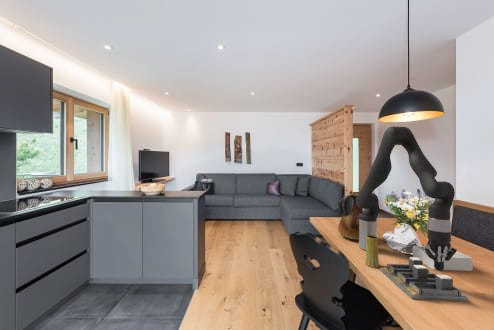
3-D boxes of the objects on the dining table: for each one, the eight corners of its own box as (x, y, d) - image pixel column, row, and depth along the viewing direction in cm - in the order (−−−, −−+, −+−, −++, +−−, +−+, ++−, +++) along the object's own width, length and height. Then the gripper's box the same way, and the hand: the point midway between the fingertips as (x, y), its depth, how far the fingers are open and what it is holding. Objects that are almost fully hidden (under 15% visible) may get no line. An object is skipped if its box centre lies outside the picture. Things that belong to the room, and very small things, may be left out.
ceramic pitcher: (377, 243, 143) (377, 196, 143) (345, 242, 143) (345, 196, 143) (362, 233, 163) (362, 192, 162) (334, 233, 163) (334, 192, 163)
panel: (380, 270, 107) (380, 263, 107) (424, 272, 105) (424, 264, 105) (411, 298, 85) (411, 289, 85) (467, 300, 83) (467, 291, 83)
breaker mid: (412, 278, 97) (412, 264, 96) (422, 278, 96) (422, 265, 96) (417, 282, 94) (417, 268, 93) (427, 282, 93) (427, 268, 93)
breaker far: (408, 269, 104) (408, 257, 104) (417, 269, 104) (417, 257, 104) (413, 272, 101) (413, 259, 101) (422, 273, 101) (422, 260, 101)
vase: (366, 261, 117) (366, 234, 117) (380, 264, 113) (380, 236, 113) (363, 265, 112) (364, 237, 112) (377, 269, 108) (378, 239, 108)
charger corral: (412, 256, 122) (412, 245, 122) (446, 257, 121) (447, 246, 121) (433, 269, 108) (433, 257, 108) (472, 270, 107) (472, 258, 106)
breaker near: (435, 289, 88) (435, 274, 88) (446, 289, 88) (446, 274, 88) (441, 293, 85) (441, 278, 85) (452, 293, 85) (452, 278, 85)
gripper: (448, 226, 97) (448, 266, 98) (416, 226, 98) (416, 265, 98) (463, 231, 90) (463, 274, 90) (429, 231, 91) (429, 273, 91)
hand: (439, 269), depth 94 cm, fingers closed
